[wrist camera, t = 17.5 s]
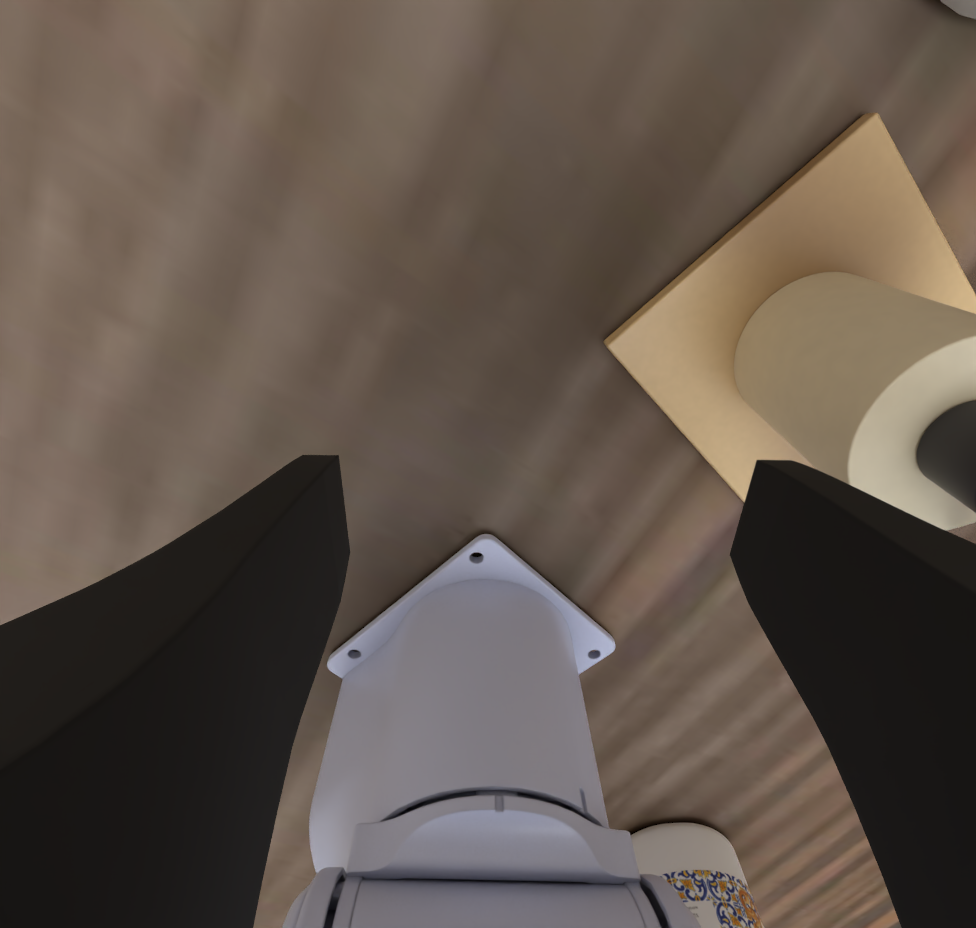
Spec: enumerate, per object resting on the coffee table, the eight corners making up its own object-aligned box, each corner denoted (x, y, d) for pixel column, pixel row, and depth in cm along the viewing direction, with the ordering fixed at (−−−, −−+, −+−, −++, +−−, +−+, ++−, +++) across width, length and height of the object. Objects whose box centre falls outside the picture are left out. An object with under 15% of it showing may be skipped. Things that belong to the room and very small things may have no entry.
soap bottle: (720, 306, 17) (895, 416, 10) (887, 246, 17) (1202, 318, 9) (748, 453, 20) (905, 626, 13) (895, 405, 19) (1150, 560, 12)
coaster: (752, 511, 22) (759, 520, 21) (602, 341, 18) (605, 346, 18) (993, 347, 19) (1008, 352, 18) (864, 112, 16) (878, 111, 15)
